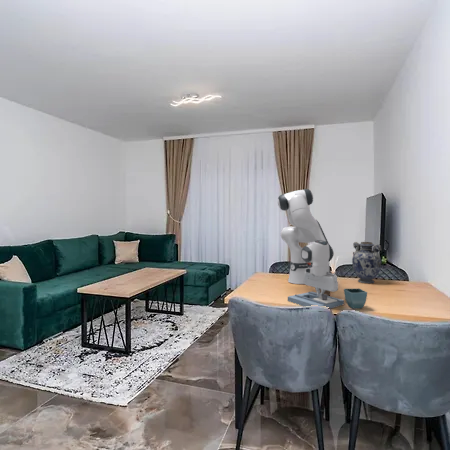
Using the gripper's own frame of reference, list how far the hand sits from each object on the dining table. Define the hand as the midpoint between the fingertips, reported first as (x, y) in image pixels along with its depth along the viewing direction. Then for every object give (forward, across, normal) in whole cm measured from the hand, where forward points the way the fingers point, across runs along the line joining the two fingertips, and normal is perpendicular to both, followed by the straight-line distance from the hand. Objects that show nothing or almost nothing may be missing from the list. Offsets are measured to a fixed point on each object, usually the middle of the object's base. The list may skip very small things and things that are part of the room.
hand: (320, 296), depth 175 cm
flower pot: (+5, -13, -11) cm, 18 cm away
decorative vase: (+4, +19, -70) cm, 73 cm away
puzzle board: (+4, +4, 0) cm, 6 cm away
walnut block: (+4, +10, -15) cm, 19 cm away
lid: (+2, -3, 0) cm, 3 cm away
